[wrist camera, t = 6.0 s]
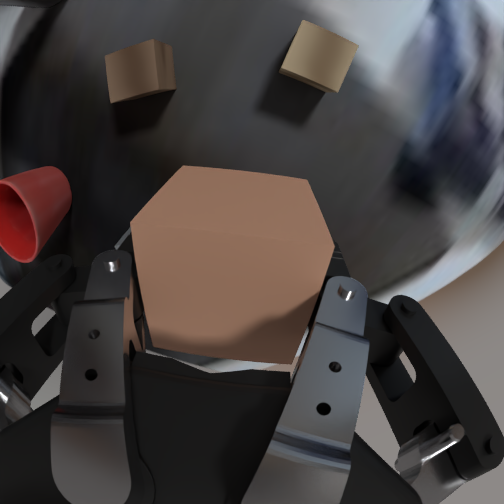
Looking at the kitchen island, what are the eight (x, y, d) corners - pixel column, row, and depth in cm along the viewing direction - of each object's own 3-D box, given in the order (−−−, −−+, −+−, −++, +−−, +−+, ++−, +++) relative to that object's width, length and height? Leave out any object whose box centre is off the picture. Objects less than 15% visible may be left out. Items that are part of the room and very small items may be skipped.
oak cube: (278, 72, 22) (281, 67, 18) (296, 32, 19) (302, 19, 15) (325, 92, 23) (337, 92, 19) (343, 52, 20) (358, 45, 16)
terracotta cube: (183, 265, 13) (153, 347, 9) (183, 165, 10) (130, 222, 6) (285, 277, 13) (291, 364, 9) (306, 179, 11) (334, 246, 6)
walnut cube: (133, 99, 24) (110, 103, 19) (128, 58, 21) (105, 56, 17) (176, 89, 23) (158, 89, 19) (171, 46, 20) (153, 39, 16)
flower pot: (91, 180, 29) (43, 215, 21) (69, 238, 34) (32, 278, 25) (41, 140, 25) (-10, 164, 17) (25, 200, 30) (-15, 232, 22)
